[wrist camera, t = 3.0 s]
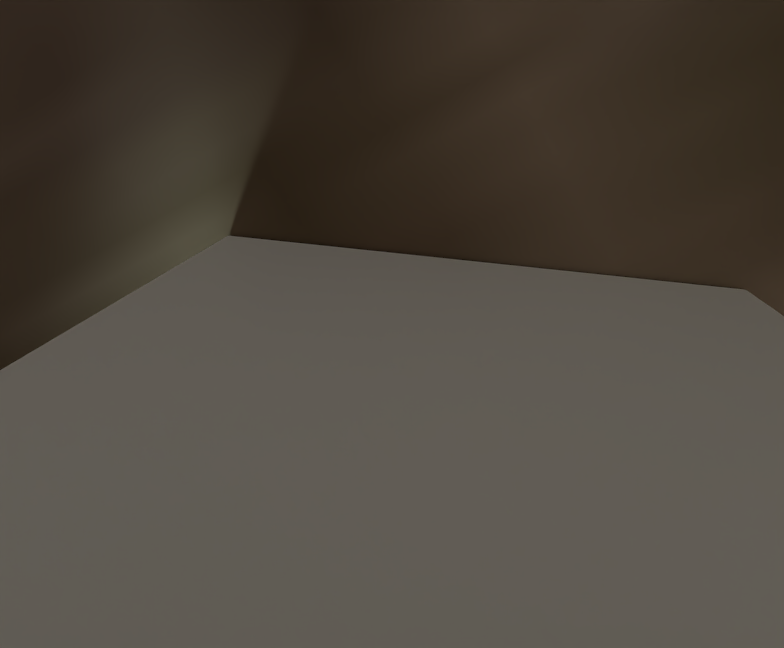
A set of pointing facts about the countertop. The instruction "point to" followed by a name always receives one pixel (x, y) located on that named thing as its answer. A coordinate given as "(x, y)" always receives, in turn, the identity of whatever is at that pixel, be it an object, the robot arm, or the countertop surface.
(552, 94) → the countertop surface
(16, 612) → the matte white cube
